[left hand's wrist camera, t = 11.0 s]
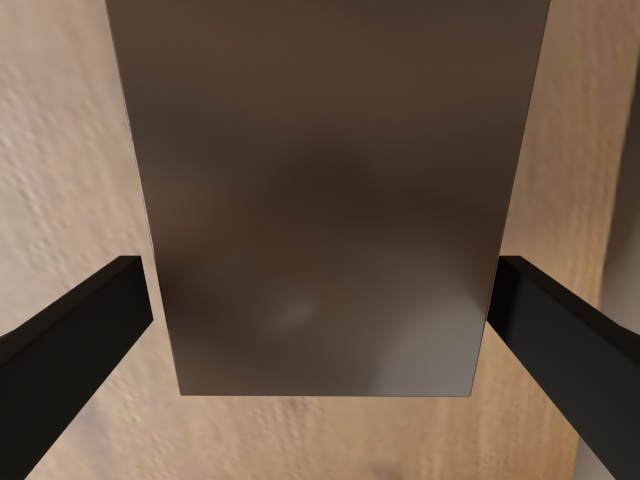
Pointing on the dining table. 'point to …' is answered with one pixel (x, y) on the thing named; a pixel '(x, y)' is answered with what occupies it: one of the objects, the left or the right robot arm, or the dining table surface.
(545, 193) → the dining table surface
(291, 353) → the cabinet
